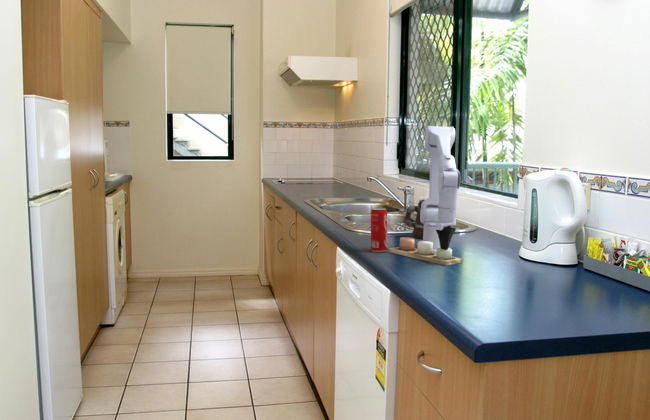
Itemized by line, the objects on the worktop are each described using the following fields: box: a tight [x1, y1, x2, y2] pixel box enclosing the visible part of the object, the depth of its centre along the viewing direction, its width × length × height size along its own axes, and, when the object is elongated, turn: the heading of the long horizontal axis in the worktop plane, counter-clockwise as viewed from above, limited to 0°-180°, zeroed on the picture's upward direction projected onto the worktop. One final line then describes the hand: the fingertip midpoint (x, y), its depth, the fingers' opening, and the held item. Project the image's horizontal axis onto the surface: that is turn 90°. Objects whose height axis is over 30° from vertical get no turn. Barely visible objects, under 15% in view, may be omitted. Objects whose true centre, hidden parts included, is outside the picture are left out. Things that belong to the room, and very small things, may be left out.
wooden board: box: [387, 246, 464, 266], centre depth 207 cm, size 9×25×1 cm, turn 41°
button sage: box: [435, 247, 453, 260], centre depth 201 cm, size 5×5×4 cm
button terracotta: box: [399, 236, 416, 250], centre depth 213 cm, size 5×5×4 cm
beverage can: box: [370, 207, 388, 253], centre depth 214 cm, size 6×6×15 cm
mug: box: [403, 199, 438, 240], centre depth 246 cm, size 16×12×15 cm
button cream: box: [417, 240, 433, 254], centre depth 207 cm, size 5×5×4 cm
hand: (444, 249), depth 201 cm, fingers closed, pressing on button sage
